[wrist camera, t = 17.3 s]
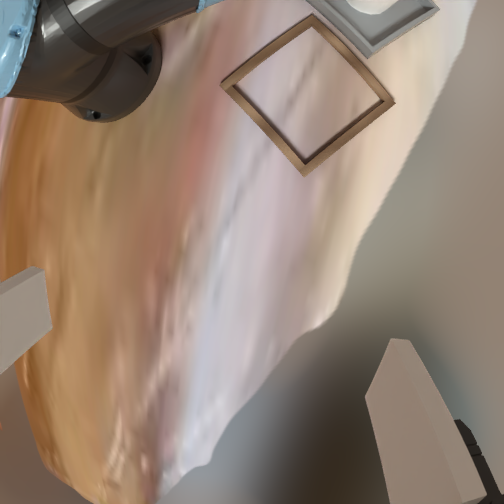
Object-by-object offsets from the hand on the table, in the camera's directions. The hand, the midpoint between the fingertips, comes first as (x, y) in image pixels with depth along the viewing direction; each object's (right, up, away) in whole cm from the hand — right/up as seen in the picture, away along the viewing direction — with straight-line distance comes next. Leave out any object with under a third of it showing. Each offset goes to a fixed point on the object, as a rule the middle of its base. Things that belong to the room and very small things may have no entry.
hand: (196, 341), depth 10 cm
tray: (+17, +36, +17) cm, 43 cm away
